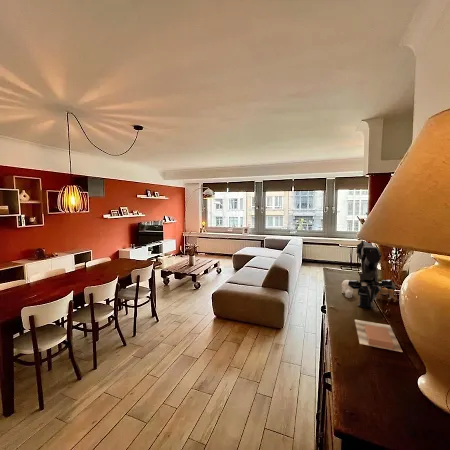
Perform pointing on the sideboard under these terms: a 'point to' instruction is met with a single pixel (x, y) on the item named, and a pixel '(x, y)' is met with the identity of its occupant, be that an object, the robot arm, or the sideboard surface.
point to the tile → (378, 336)
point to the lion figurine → (387, 291)
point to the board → (361, 326)
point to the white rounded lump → (347, 289)
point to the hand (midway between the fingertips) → (371, 302)
